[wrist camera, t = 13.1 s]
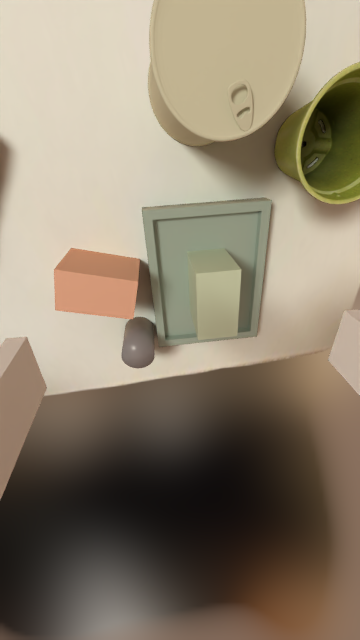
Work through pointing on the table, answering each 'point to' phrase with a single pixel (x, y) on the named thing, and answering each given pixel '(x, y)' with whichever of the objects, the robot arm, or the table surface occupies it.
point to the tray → (204, 234)
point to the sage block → (214, 293)
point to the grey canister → (138, 343)
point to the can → (222, 65)
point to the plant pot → (326, 141)
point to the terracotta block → (96, 284)
